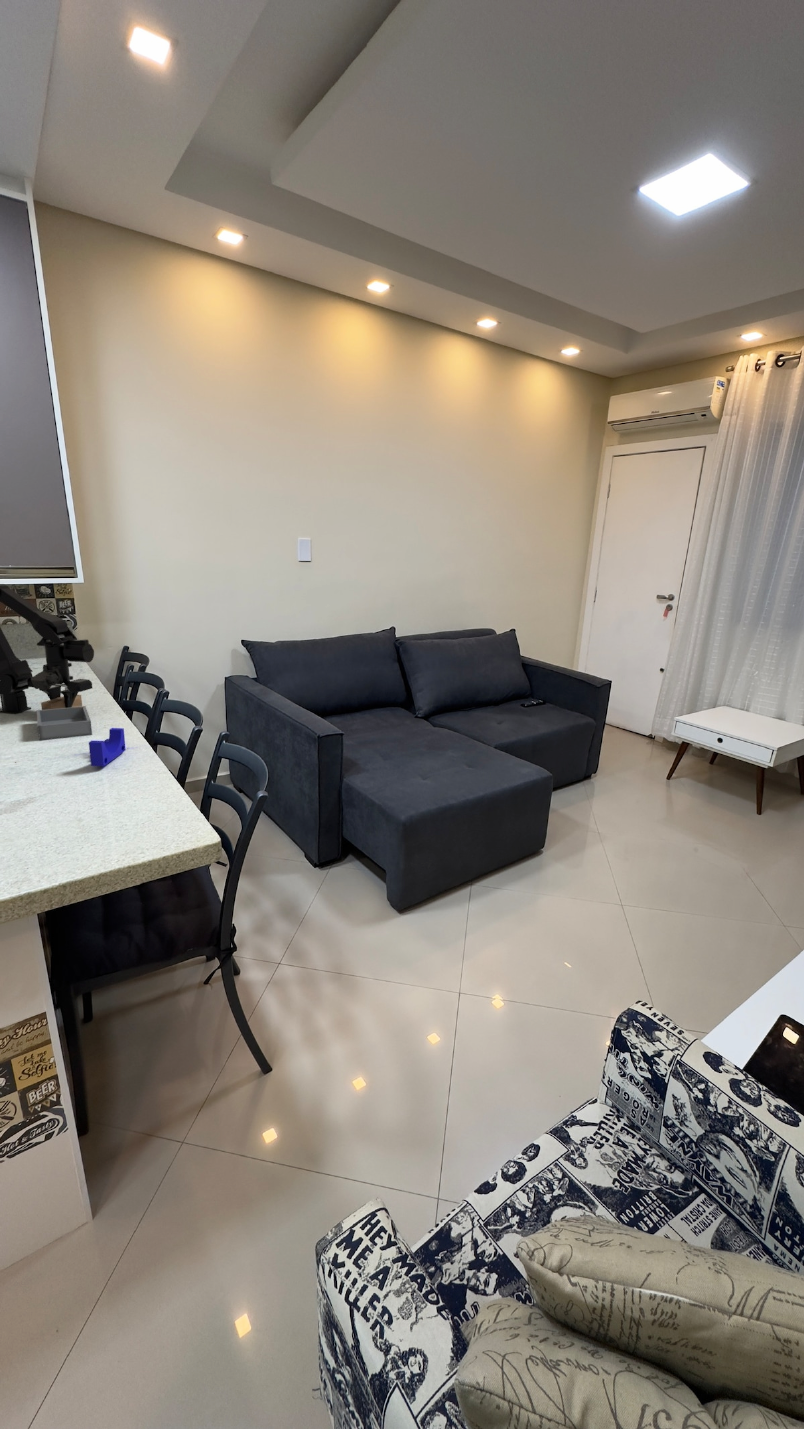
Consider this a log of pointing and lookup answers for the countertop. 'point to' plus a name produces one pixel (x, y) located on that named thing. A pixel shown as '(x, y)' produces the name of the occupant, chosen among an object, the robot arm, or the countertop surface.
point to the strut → (60, 703)
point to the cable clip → (107, 747)
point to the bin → (63, 723)
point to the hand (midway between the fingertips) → (63, 710)
